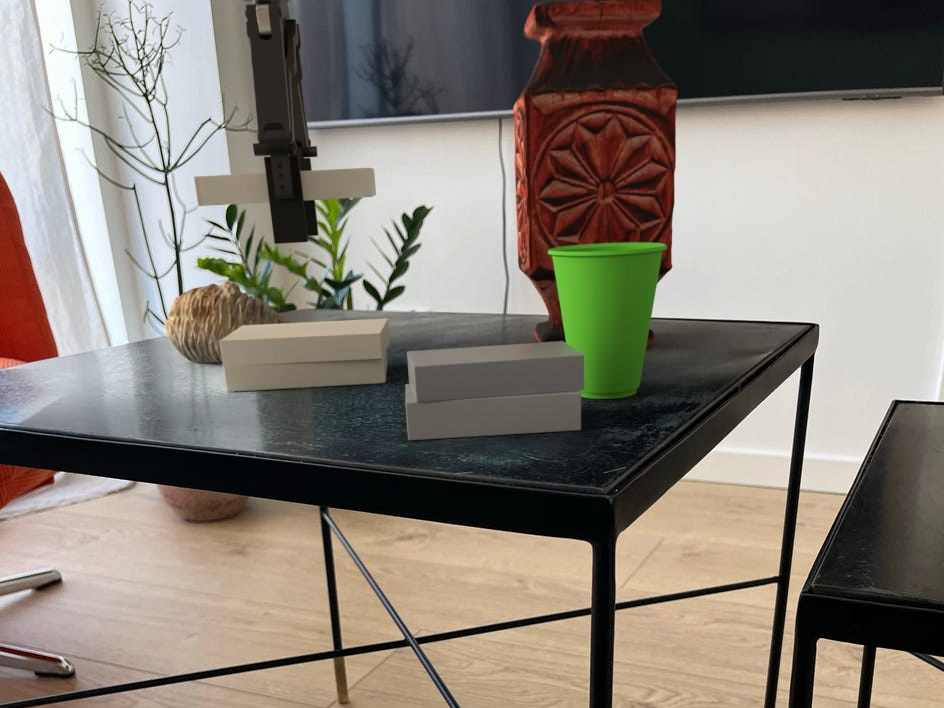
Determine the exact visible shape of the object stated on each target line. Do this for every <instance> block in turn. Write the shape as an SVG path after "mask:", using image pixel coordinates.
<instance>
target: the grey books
mask: <svg viewBox="0 0 944 708" xmlns="http://www.w3.org/2000/svg"><path fill="white" fill-rule="evenodd" d="M406 358H407V371H408V372H407V373H408V383H406V384H405V402H404V403H405V415H406V429H407V440H408V442H409V441H410V442H411V441H423V440H424V441H425V440H440V439H457V438H473V437H493V436H507V435H508V436H509V435H522V434H523V435H524V434H525V435H526V434H541V433H557V432H559V433H561V432H574V431H575V432H577V431H581V430H582V397H581V392H580V391H583V390H584V355H583V354H582V353H580V352H579V351H577V350H576V349H574V348H573V347H571V346H570V345H568V344H567V343H565V342H564V341H557V342H542V343H539V342H529V343H528V342H527V343H515V344H514V343H512V344H500V345H499V344H498V345H485V346H484V345H483V346H469V347H455V348H439V349H437V348H436V349H425V350H410V351H406Z"/></svg>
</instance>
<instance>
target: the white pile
mask: <svg viewBox="0 0 944 708" xmlns="http://www.w3.org/2000/svg"><path fill="white" fill-rule="evenodd" d="M219 342H220V349H221V356H222V361H221V362H222V367H223V373H224V379H225V387H226V392H227V393H232V392H233V393H235V391H238V392H252V391H253V392H255V391H271V390H273V391H274V390H289V389H290V390H291V389H303V388H305V389H307V388H323V387H339V386H340V387H341V386H355V385H357V386H359V385H375V384H376V385H377V384H385V383H386V380H387V372H388V371H387V370H388V355H387V349H388V347H389V345H390V343H391V337H390V324H389V318H387V317H386V318H369V319H367V318H366V319H348V320H346V319H345V320H325V321H307V322H305V321H304V322H290V323H284V324H263V325H243V326H241V327H240V328H238V329H237V330H235V331H234V332H232V333H231V334H229V335H228V336H226V337H225V338H223V339H221V340H220V341H219Z"/></svg>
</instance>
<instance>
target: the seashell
mask: <svg viewBox="0 0 944 708" xmlns="http://www.w3.org/2000/svg"><path fill="white" fill-rule="evenodd" d="M284 323H291V322H290V320H289V319H287V318H283V315H281V314H280V313H279V312H277V310H275V309H274V308H272V307H270V305H269V304H268V302H267V301H265V300H263V299H261V298H259V297H254V296H253V295H248V293H246V292H242V291H241V288H240V285H239V284H238V283H236V282H231V281H229V280H228V281H227V280H226V281H224V282H223V284H219V285H218V284H215V283H210V284H209V285H205V286H198V287H193V288H190V289H189V290H187V291H185V292H183V293H182V294H181V295H179V296H177V297H175V299H174V300H173V303H172V304H171V308H170V311H169V312H168V318H167V320H166V321H165V322H163V325H164V329H165V330H166V331H165V333H166V337H167V339H168V340H169V341H170V343H171V344H172V345H173V346H174V348H175V349H176V350H177V351H178V353H179V354H180V355H181V356H183V357H184V358H185V359H186V360H188V361H190V362H191V361H194V362H193V363H197V362H198V363H199V362H200V363H199V364H203V363H205V364H207V363H209V364H211V363H215V364H216V362H217V363H220V362H222V356H221V349H220V342H219V341H220V340H221V339H223V338H225V337H226V336H228V335H229V334H231V333H232V332H234V331H235V330H237V329H238V328H240V327H241V326H243V325H263V324H284Z"/></svg>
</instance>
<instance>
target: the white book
mask: <svg viewBox="0 0 944 708" xmlns="http://www.w3.org/2000/svg"><path fill="white" fill-rule="evenodd" d="M300 173H301V182H302V191H303V200H304V201H305V200H315V201H320V200H322V201H323V200H340V199H341V200H342V199H360V198H361V199H363V198H373V197H375V196H377V189H376V176H375V175H376V174H375V169H374V168H373V167H355V168H354V167H353V168H352V167H351V168H338V169H337V168H335V169H333V168H332V169H317V170H316V169H315V170H312V171H300ZM193 181H194V187H195V194H196V201H197V206H198V207H204V206H205V207H207V206H225V205H226V206H228V205H247V204H264V203H267V204H268V203H269V194H268V186H267V178H266V172H259V173H258V172H257V173H256V172H255V173H239V174H237V173H235V174H219V175H216V174H215V175H199V176H193Z"/></svg>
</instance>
